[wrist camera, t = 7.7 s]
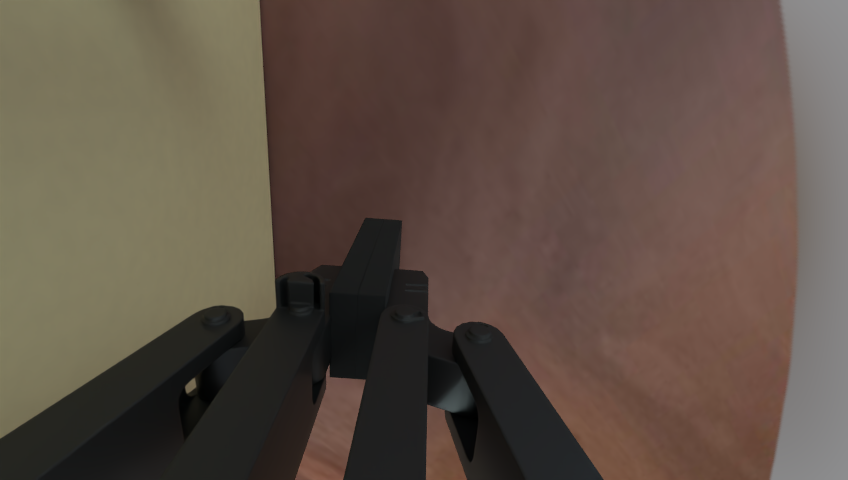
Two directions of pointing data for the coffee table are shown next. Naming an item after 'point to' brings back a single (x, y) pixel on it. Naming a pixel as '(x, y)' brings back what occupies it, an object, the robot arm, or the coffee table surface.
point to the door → (125, 183)
